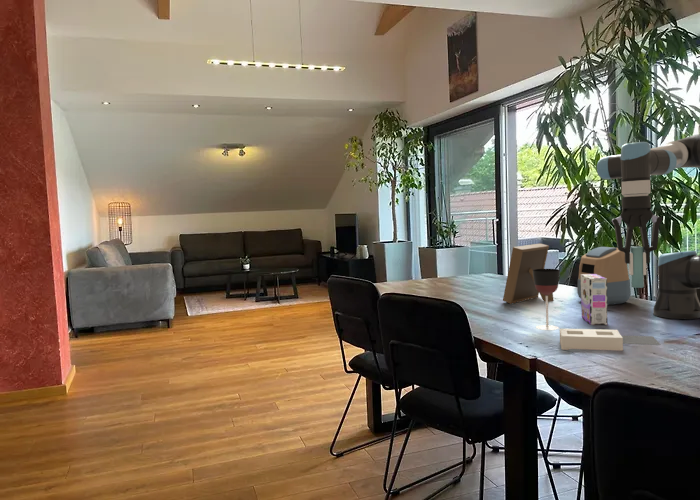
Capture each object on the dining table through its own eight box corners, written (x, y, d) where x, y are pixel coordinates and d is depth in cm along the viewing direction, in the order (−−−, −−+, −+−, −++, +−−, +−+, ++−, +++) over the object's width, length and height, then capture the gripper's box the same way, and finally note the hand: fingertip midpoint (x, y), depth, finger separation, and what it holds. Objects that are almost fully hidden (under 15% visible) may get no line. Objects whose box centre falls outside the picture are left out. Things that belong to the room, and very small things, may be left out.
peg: (642, 286, 157) (642, 246, 156) (644, 287, 154) (644, 247, 153) (630, 286, 158) (630, 246, 157) (632, 287, 155) (632, 247, 154)
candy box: (608, 325, 179) (607, 278, 178) (590, 325, 180) (589, 278, 179) (597, 317, 193) (597, 273, 192) (580, 317, 194) (579, 273, 193)
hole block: (617, 342, 156) (617, 329, 156) (622, 351, 147) (622, 337, 147) (559, 341, 162) (559, 328, 161) (561, 349, 152) (561, 336, 152)
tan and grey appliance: (573, 300, 228) (572, 247, 227) (608, 297, 231) (607, 245, 230) (598, 306, 212) (597, 250, 210) (635, 303, 215) (634, 247, 213)
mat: (652, 337, 160) (652, 336, 160) (660, 345, 151) (660, 344, 151) (616, 336, 164) (616, 335, 164) (622, 344, 154) (622, 343, 154)
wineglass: (538, 324, 186) (537, 268, 185) (564, 326, 181) (562, 269, 179) (530, 328, 180) (529, 271, 179) (556, 331, 175) (555, 271, 173)
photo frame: (502, 302, 231) (501, 246, 229) (529, 296, 245) (529, 243, 243) (533, 306, 219) (532, 247, 218) (559, 299, 233) (559, 243, 231)
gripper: (663, 194, 155) (664, 272, 157) (604, 197, 160) (606, 273, 162) (669, 193, 148) (670, 275, 150) (608, 197, 153) (610, 276, 155)
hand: (637, 274), depth 156 cm, fingers closed on peg, 3 cm apart
